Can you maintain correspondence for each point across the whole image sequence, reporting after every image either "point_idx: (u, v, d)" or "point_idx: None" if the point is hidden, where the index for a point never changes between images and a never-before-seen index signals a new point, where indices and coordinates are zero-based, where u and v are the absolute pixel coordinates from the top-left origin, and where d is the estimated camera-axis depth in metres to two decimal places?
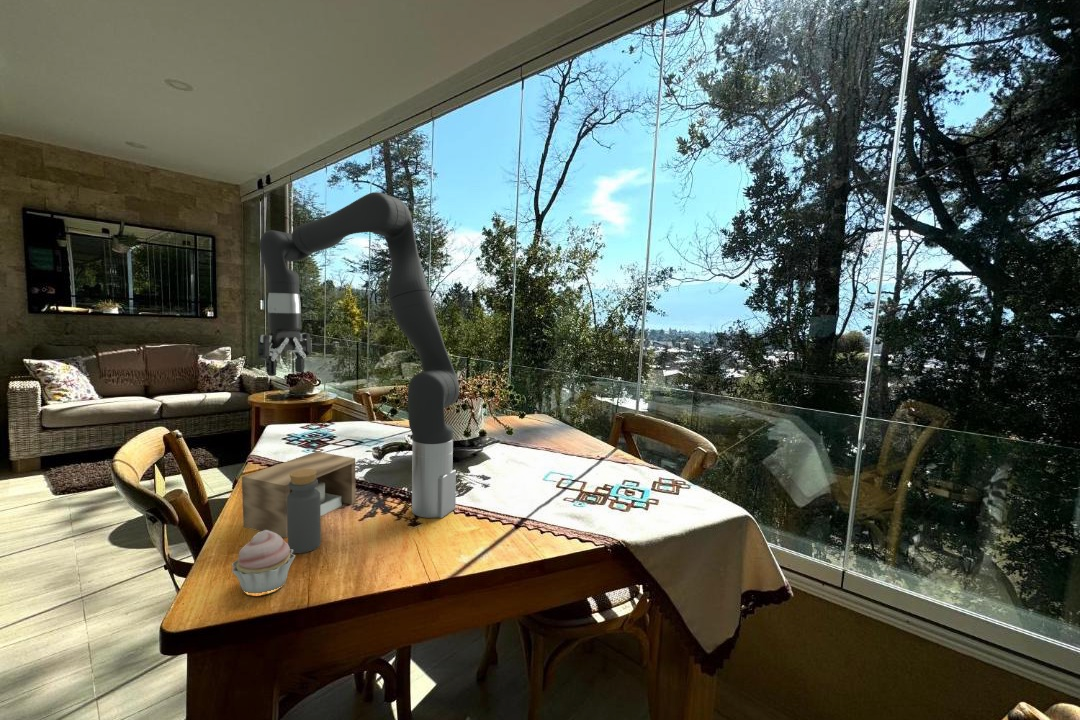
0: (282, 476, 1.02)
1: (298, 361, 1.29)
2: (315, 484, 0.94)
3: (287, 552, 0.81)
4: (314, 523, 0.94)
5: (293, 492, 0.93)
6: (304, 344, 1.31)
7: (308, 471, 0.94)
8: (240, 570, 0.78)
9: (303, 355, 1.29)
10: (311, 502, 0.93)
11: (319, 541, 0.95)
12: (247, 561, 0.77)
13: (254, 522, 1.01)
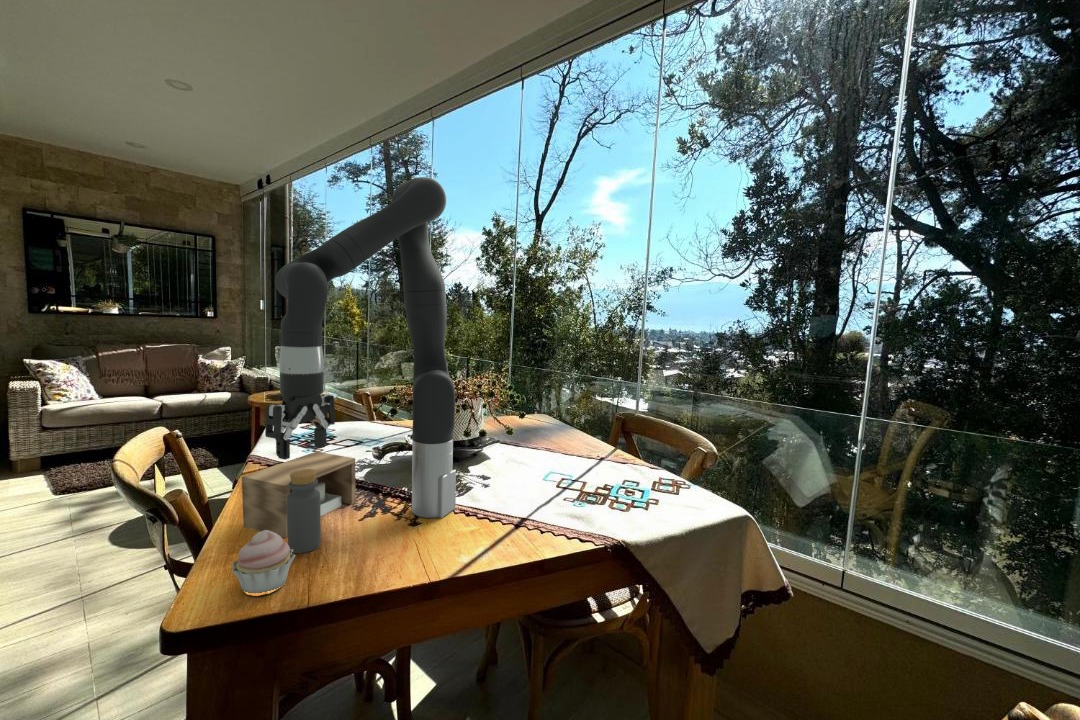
0: (282, 476, 1.02)
1: (318, 433, 0.97)
2: (315, 484, 0.94)
3: (287, 552, 0.81)
4: (314, 523, 0.94)
5: (293, 492, 0.93)
6: (326, 410, 0.98)
7: (308, 471, 0.94)
8: (240, 570, 0.78)
9: (325, 425, 0.97)
10: (311, 502, 0.93)
11: (319, 541, 0.95)
12: (247, 561, 0.77)
13: (254, 522, 1.01)
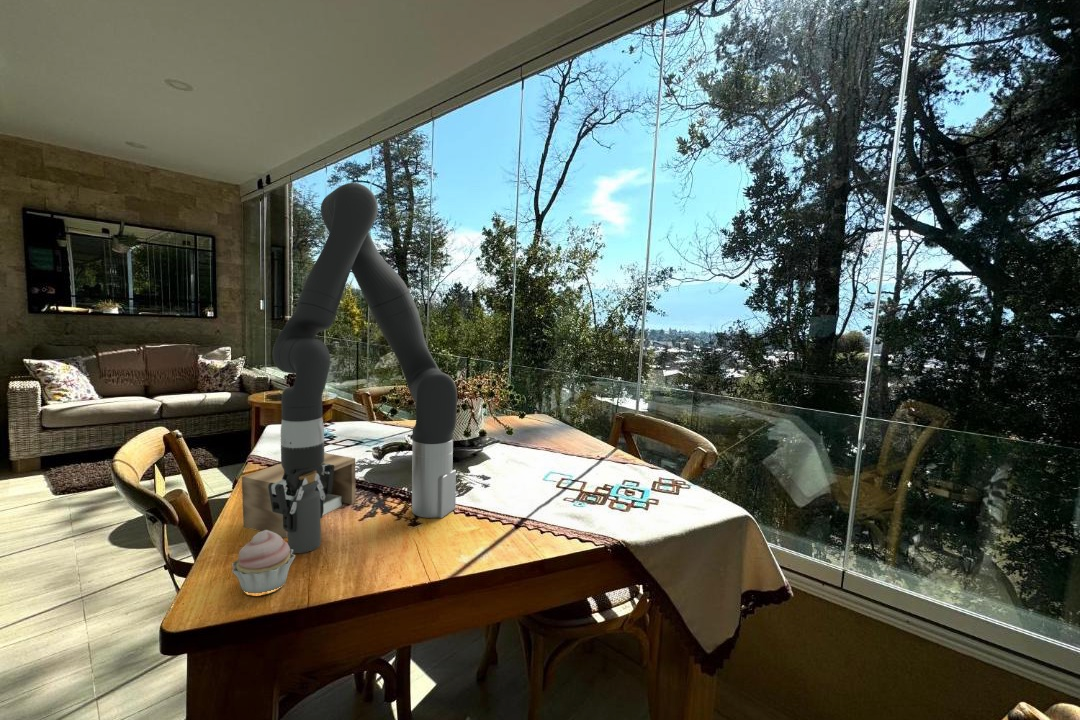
0: (282, 476, 1.02)
1: None
2: (315, 484, 0.94)
3: (287, 552, 0.81)
4: (314, 523, 0.94)
5: None
6: (325, 479, 0.99)
7: None
8: (240, 570, 0.78)
9: (322, 497, 0.97)
10: (311, 502, 0.93)
11: (319, 541, 0.95)
12: (247, 561, 0.77)
13: (254, 522, 1.01)
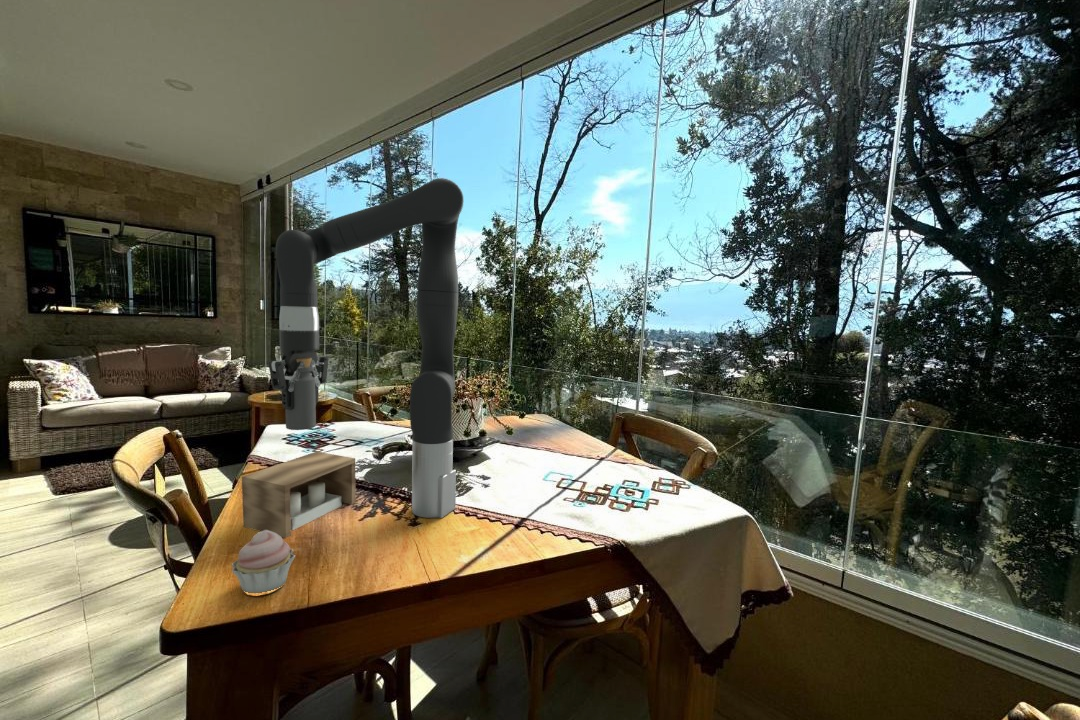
0: (282, 476, 1.02)
1: None
2: (311, 368, 1.03)
3: (287, 552, 0.81)
4: (310, 404, 1.03)
5: None
6: (320, 369, 1.08)
7: None
8: (240, 570, 0.78)
9: (317, 383, 1.06)
10: (307, 383, 1.02)
11: (314, 422, 1.05)
12: (247, 561, 0.77)
13: (254, 522, 1.01)
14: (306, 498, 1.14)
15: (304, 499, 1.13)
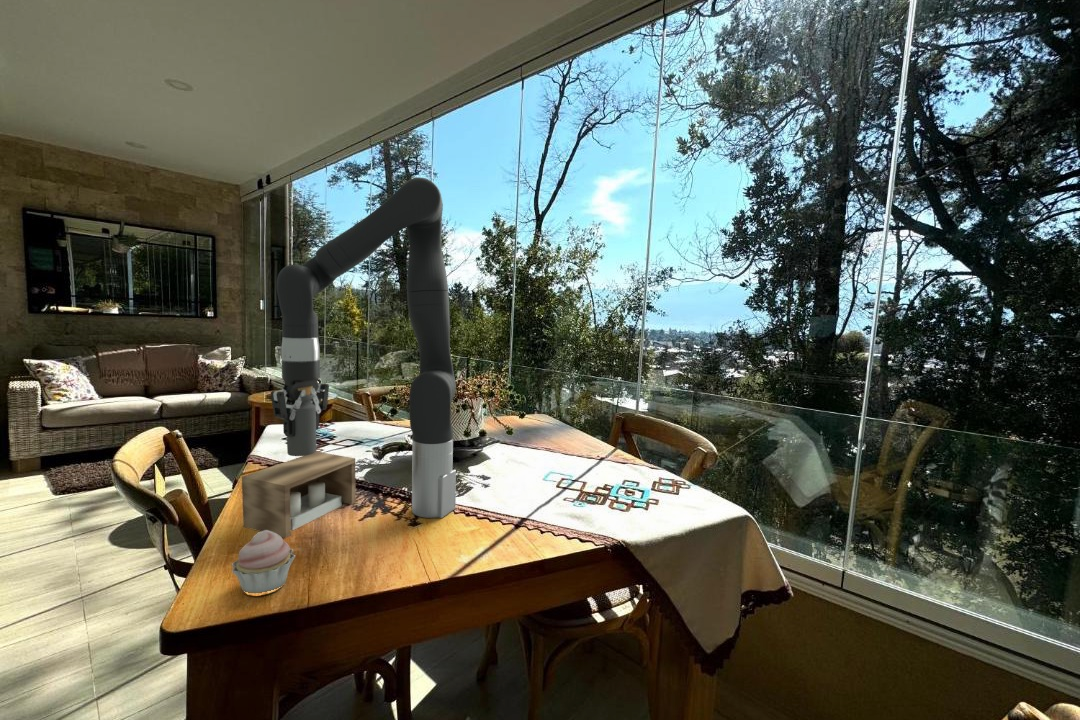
0: (282, 476, 1.02)
1: None
2: (311, 396, 1.07)
3: (287, 552, 0.81)
4: (311, 431, 1.07)
5: None
6: (321, 396, 1.12)
7: None
8: (240, 570, 0.78)
9: (318, 410, 1.10)
10: (307, 411, 1.06)
11: (315, 448, 1.08)
12: (247, 561, 0.77)
13: (254, 522, 1.01)
14: (306, 498, 1.14)
15: (304, 499, 1.13)
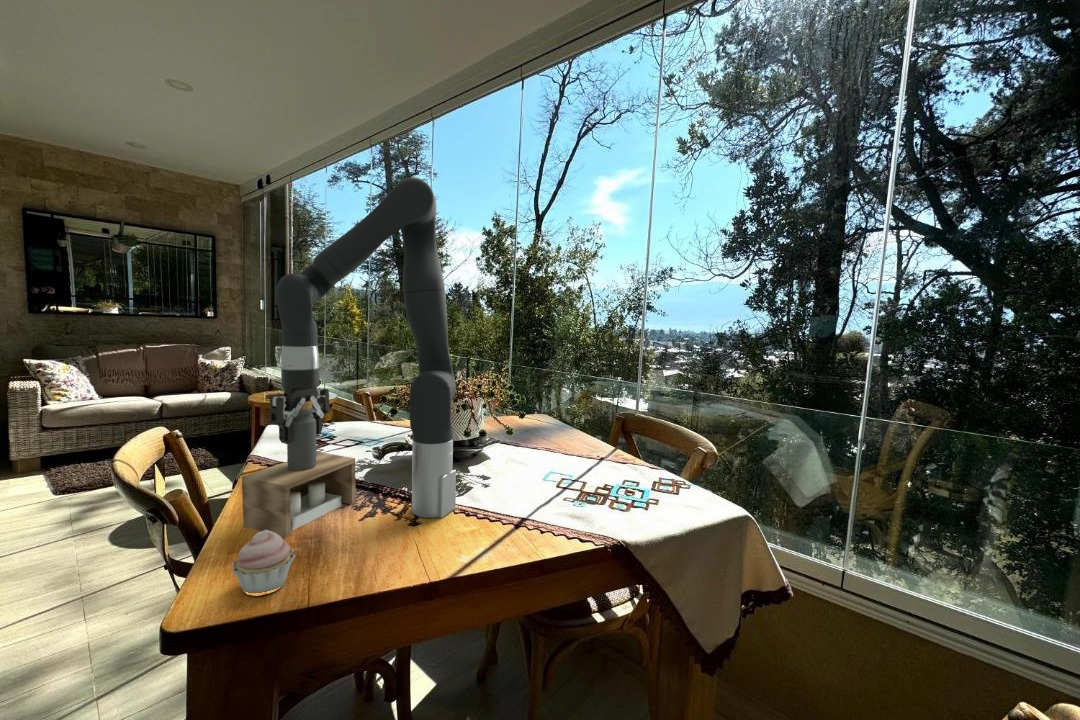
0: (282, 476, 1.02)
1: None
2: (312, 411, 1.07)
3: (287, 552, 0.81)
4: (311, 445, 1.07)
5: None
6: (322, 401, 1.12)
7: None
8: (240, 570, 0.78)
9: (321, 415, 1.11)
10: (308, 425, 1.06)
11: (315, 462, 1.09)
12: (247, 561, 0.77)
13: (254, 522, 1.01)
14: (306, 498, 1.14)
15: (304, 499, 1.13)
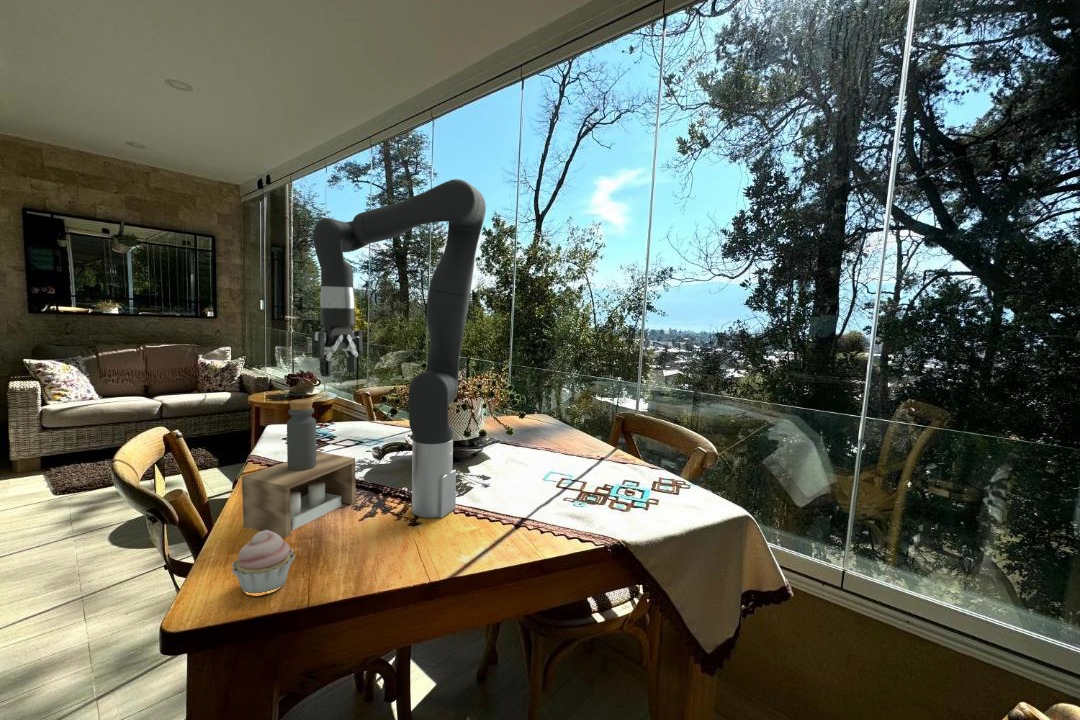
0: (282, 476, 1.02)
1: (350, 360, 1.20)
2: (311, 411, 1.07)
3: (287, 552, 0.81)
4: (311, 445, 1.07)
5: (292, 417, 1.06)
6: (356, 342, 1.21)
7: (305, 400, 1.08)
8: (240, 570, 0.78)
9: (356, 354, 1.20)
10: (308, 426, 1.06)
11: (315, 462, 1.09)
12: (247, 561, 0.77)
13: (254, 522, 1.01)
14: (306, 498, 1.14)
15: (304, 499, 1.13)
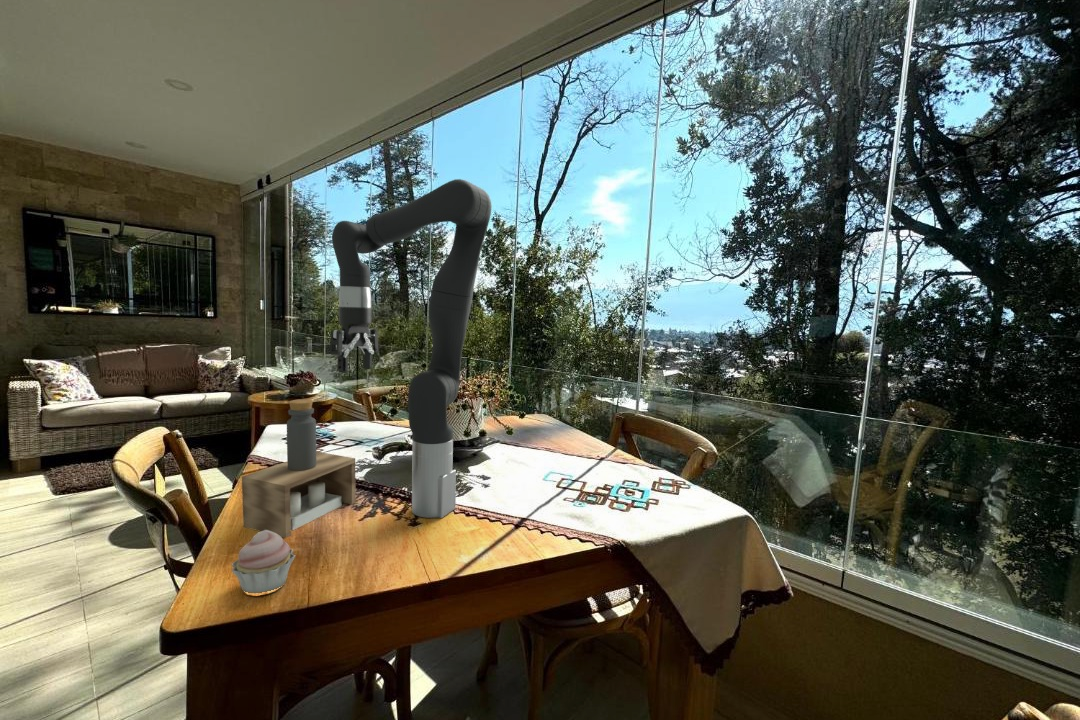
0: (282, 476, 1.02)
1: (366, 358, 1.24)
2: (311, 411, 1.07)
3: (287, 552, 0.81)
4: (311, 446, 1.07)
5: (292, 417, 1.06)
6: (372, 340, 1.26)
7: (305, 400, 1.08)
8: (240, 570, 0.78)
9: (371, 351, 1.24)
10: (308, 426, 1.06)
11: (315, 462, 1.09)
12: (247, 561, 0.77)
13: (254, 522, 1.01)
14: (306, 498, 1.14)
15: (304, 499, 1.13)
